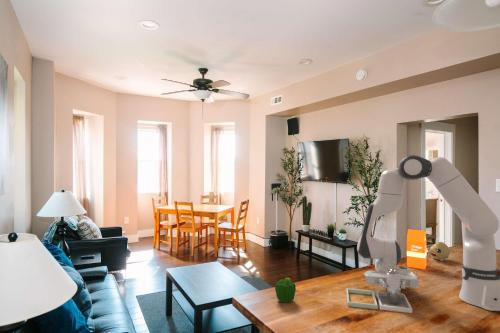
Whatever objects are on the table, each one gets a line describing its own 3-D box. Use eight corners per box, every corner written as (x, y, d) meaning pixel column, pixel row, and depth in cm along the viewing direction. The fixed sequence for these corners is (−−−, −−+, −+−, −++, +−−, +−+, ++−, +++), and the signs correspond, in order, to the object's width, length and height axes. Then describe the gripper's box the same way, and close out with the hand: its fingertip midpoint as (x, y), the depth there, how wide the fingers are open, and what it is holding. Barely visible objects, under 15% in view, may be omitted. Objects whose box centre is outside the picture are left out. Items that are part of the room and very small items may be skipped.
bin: (373, 297, 132) (373, 290, 132) (377, 313, 119) (377, 305, 119) (346, 295, 135) (346, 288, 135) (347, 309, 122) (347, 302, 122)
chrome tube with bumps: (399, 298, 125) (398, 268, 125) (402, 303, 120) (401, 272, 120) (386, 297, 127) (385, 267, 126) (388, 302, 122) (387, 271, 122)
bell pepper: (271, 298, 132) (271, 275, 132) (288, 295, 136) (288, 272, 136) (281, 306, 125) (281, 281, 125) (299, 302, 128) (298, 278, 128)
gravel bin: (404, 300, 129) (404, 293, 129) (412, 316, 115) (412, 308, 115) (376, 298, 132) (375, 291, 132) (380, 313, 118) (380, 305, 118)
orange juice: (409, 262, 178) (408, 228, 178) (426, 265, 173) (426, 229, 173) (406, 266, 172) (406, 230, 172) (424, 269, 167) (424, 232, 167)
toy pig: (424, 259, 185) (423, 241, 185) (436, 256, 190) (436, 239, 190) (440, 263, 176) (440, 245, 176) (453, 260, 181) (453, 242, 181)
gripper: (363, 265, 139) (366, 276, 125) (413, 268, 133) (422, 280, 120) (363, 279, 139) (366, 291, 125) (413, 283, 133) (422, 296, 120)
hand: (394, 286), depth 123 cm, fingers closed on chrome tube with bumps, 5 cm apart
